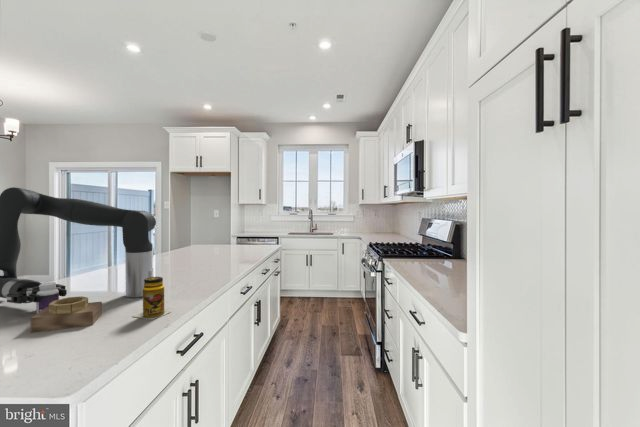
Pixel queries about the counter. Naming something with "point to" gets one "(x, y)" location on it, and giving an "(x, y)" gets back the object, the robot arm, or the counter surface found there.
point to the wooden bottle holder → (66, 314)
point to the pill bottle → (47, 295)
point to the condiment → (153, 299)
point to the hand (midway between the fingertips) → (52, 295)
